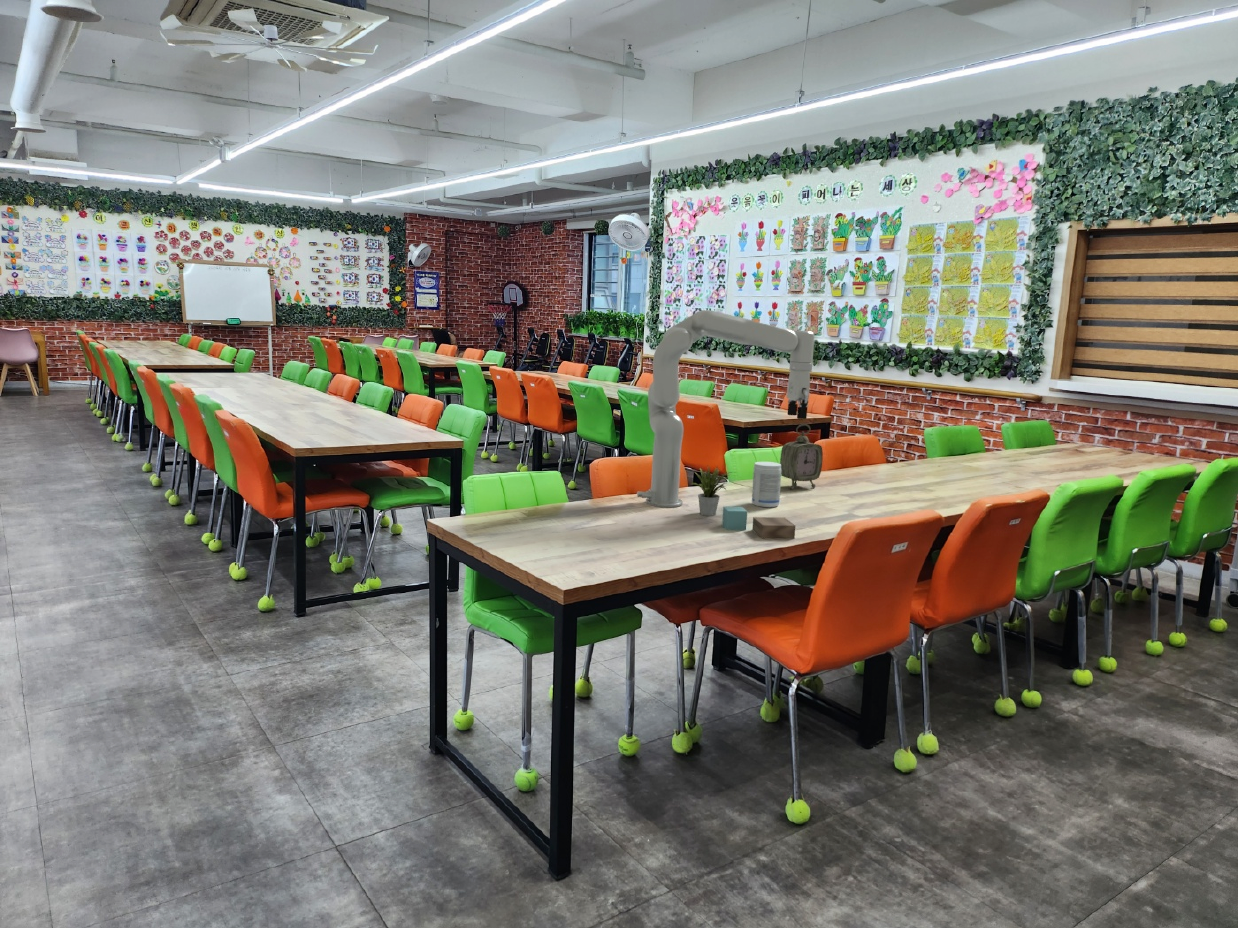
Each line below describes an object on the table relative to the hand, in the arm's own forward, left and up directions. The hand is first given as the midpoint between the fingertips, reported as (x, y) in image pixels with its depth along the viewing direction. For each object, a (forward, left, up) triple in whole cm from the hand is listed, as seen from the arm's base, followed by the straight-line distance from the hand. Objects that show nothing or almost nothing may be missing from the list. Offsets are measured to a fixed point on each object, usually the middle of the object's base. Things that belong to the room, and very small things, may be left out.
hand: (796, 417), depth 293 cm
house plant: (-33, -16, -31) cm, 48 cm away
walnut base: (-19, -40, -31) cm, 54 cm away
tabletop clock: (+14, +31, -31) cm, 46 cm away
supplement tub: (-9, 0, -31) cm, 33 cm away
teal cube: (-29, -32, -31) cm, 53 cm away
